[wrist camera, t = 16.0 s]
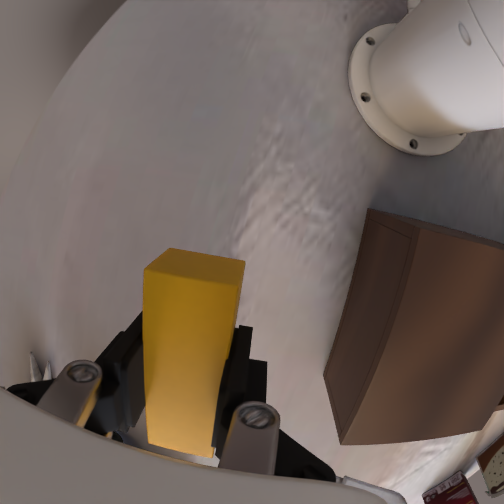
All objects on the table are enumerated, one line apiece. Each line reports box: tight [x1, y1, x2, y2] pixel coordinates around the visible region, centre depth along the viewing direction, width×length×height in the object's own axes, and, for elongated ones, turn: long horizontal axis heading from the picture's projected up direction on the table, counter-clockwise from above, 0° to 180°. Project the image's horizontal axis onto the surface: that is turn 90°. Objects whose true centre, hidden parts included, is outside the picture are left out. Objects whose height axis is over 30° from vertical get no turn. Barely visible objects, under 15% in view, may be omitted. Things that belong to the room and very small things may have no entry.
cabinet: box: [323, 208, 504, 445], centre depth 22 cm, size 16×17×10 cm
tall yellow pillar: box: [142, 248, 245, 458], centre depth 11 cm, size 9×3×2 cm, turn 171°
